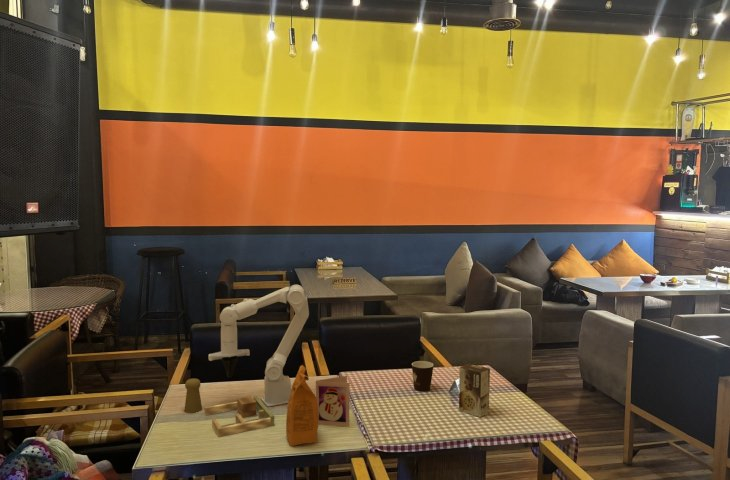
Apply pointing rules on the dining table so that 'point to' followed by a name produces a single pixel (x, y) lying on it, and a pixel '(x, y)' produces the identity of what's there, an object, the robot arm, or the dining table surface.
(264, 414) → the trap lane
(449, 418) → the dining table surface
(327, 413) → the greeting card
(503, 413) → the dining table surface
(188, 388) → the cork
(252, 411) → the walnut block
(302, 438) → the coffee package
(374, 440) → the dining table surface
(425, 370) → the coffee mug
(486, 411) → the coffee box
